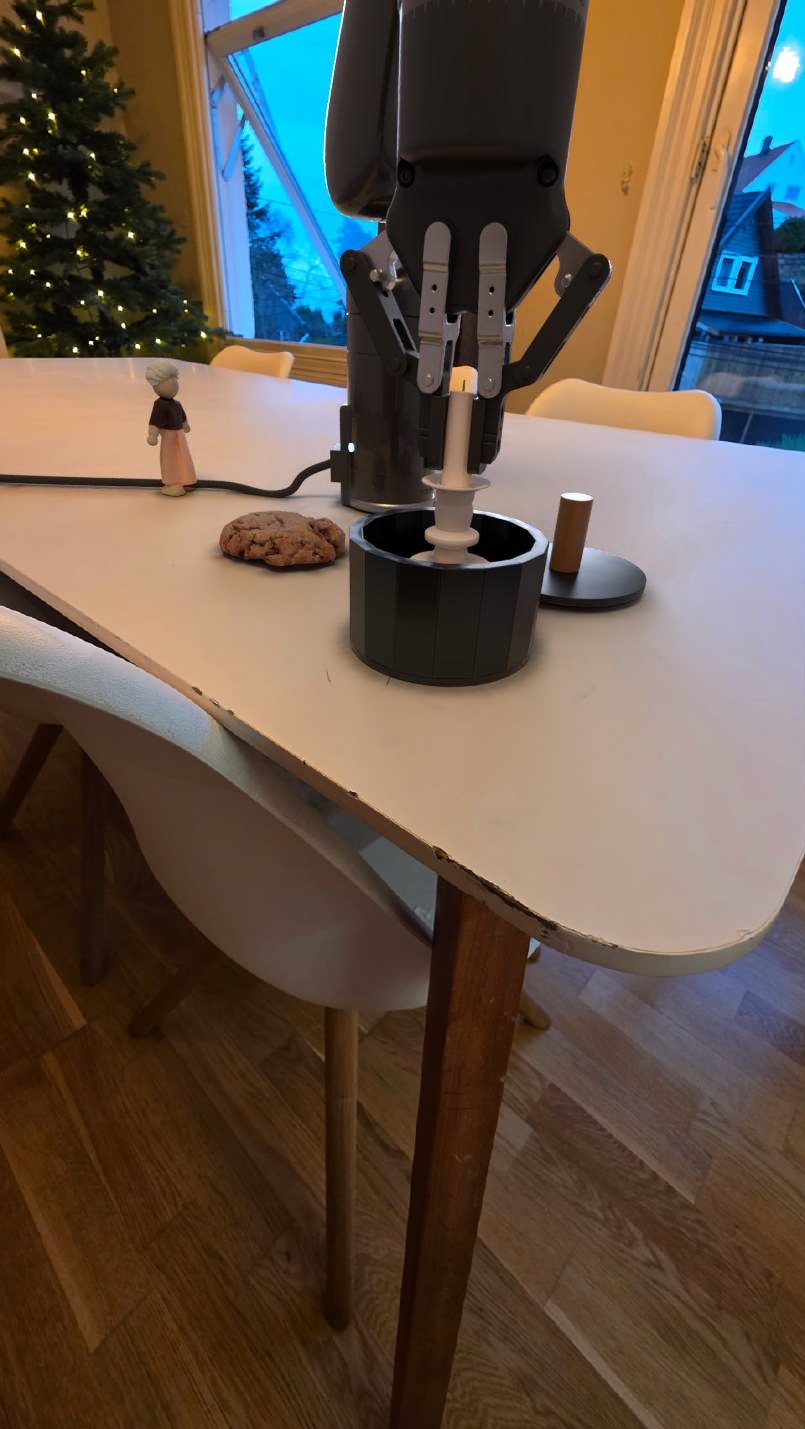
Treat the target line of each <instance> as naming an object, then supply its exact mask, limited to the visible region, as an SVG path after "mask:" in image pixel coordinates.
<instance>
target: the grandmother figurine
mask: <svg viewBox="0 0 805 1429" xmlns="http://www.w3.org/2000/svg"><path fill="white" fill-rule="evenodd" d="M179 376H180V371H179V368H178V367H177V365H176V364H175V363H173V362H171V361H170V360H167V359H163V358H160V359H159V358H158V359H157V360H155V361H153V362H151V364H150V365H149V366H147V367H146V372H145V380H146V381H147V382H148V384H149V385H150V386H152V389H153V391H154V393H155V394H156V395H157V396H158V398H157V399H155V400H154V401H153V405H152V406H153V407H152V410H151V413H150V417H149V421H148V430H147V433H148V436H147V438H146V442H147V444H148V445H149V446H152V447H156V446H157V445H158V443H159V440H158V438H159V436H160V444H159V445H160V446H159V465H160V475H161V479H162V483H164V484H165V486H164V487H163V488H161V490H160V493H161V494H163V495H166V496H172V497H173V496H174V497H176V496H177V497H179V496H182V495H183V496H184V495H186V493H187V492H186V491H193V490H195V489H196V488H191V487H183V485H191V484H194V483H197V480H198V477H197V472H196V468H195V464H194V461H193V457H192V454H191V450H190V447H189V442H188V439H187V436H186V434H189V433H190V432H191V430H192V429H191V426H190V424H189V421H188V416H187V413H186V411H185V409H184V407H183V405H182V403H181V402H180V401H179V400H177V399H175V397H176V396H177V395H178V393H179V391H180V384H179V379H180V378H179Z"/></svg>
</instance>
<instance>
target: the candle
mask: <svg viewBox="0 0 805 1429" xmlns="http://www.w3.org/2000/svg"><path fill="white" fill-rule="evenodd" d="M449 392H450V395H449V403H448V412H447V421H446V432H445V445H444V458H443V470H441V473H440V472H439V473H435V474H431V475H427V476H425V477H423V478H422V482H423V483H424V484H426V485H428V486H430V487H432V488H434V490H435V499H436V504H435V506H434V507H435V510H434V511H435V522H436V525H435V526H432V527H429V528H428V529H426V531H425V539H426V541H428V542H429V543H431V544H433V545H436V546H435V548H434V551H427V552H422V553H419V554H416V555H414V556H412V557H411V558H410V559H416V560H423V561H430V562H436V563H443V564H484V563H490V562H489V561H487V560H486V559H484V558H482V557H480V556H477V555H474V554H470V553H468V551H467V547H470V546H473V545H476V544H477V543H478V542H479V533H478V532H477V531H476V530H474V529H472V528H470V524H471V520H472V516H473V510H474V505H473V502H474V501H475V495H476V492H479V491H482V490H484V489H488V488H489V487H491V481H490V479H487V478H486V477H483V476H480V475H475V474H468V473H467V460H468V448H469V437H470V426H471V414H472V403H473V399H474V398H476V397H478V394H476V393H473V392H469V391H466V379H463V380H462V389H461V390H458V389H457V390H456V389H455V390H449Z"/></svg>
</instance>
